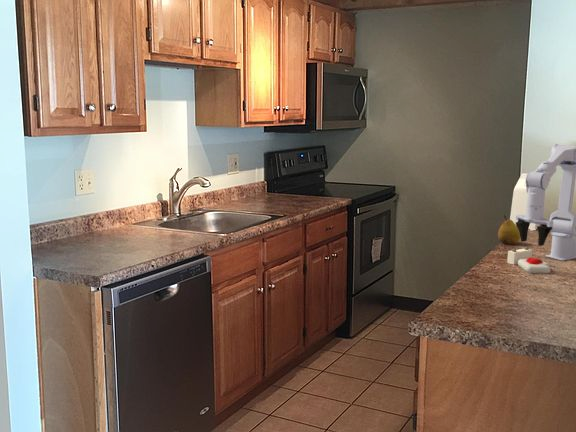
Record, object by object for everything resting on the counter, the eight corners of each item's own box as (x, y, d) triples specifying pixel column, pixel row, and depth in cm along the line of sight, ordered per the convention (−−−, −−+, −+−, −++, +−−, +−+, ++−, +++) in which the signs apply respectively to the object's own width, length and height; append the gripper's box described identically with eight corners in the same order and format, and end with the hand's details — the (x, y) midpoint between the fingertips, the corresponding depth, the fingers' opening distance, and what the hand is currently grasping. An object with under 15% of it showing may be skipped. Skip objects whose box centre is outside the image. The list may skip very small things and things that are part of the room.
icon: (557, 263, 225) (528, 262, 225) (556, 274, 226) (527, 274, 226) (544, 254, 237) (517, 254, 238) (543, 266, 238) (516, 265, 238)
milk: (539, 226, 311) (544, 173, 307) (534, 230, 302) (539, 175, 297) (514, 224, 318) (518, 171, 313) (508, 227, 308) (512, 173, 303)
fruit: (524, 244, 272) (526, 216, 270) (506, 246, 268) (508, 218, 266) (510, 240, 280) (512, 213, 277) (493, 242, 276) (495, 214, 274)
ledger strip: (525, 259, 246) (526, 246, 245) (531, 261, 243) (532, 247, 242) (507, 262, 241) (508, 249, 240) (513, 264, 238) (514, 250, 237)
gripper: (511, 203, 231) (508, 240, 234) (544, 209, 219) (541, 248, 221) (524, 202, 235) (521, 238, 237) (558, 208, 222) (555, 246, 225)
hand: (532, 243), depth 229 cm, fingers open, 7 cm apart
